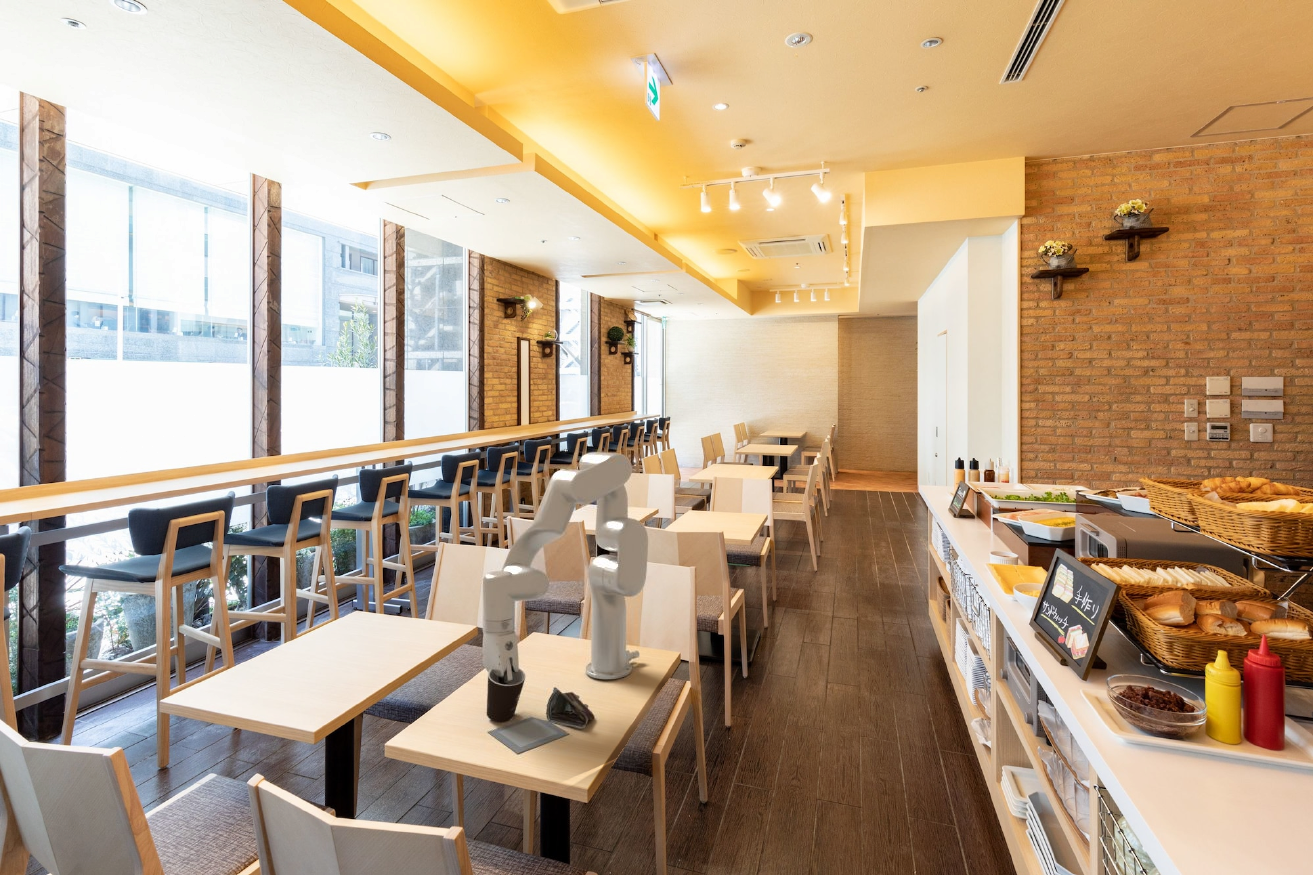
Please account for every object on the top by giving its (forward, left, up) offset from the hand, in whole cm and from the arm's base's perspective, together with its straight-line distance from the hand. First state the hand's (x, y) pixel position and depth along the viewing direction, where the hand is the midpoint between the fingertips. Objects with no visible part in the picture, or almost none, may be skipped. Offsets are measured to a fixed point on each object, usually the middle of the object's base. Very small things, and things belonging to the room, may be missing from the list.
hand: (499, 701), depth 152 cm
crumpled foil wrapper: (-12, +19, -5) cm, 23 cm away
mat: (0, +13, -3) cm, 14 cm away
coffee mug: (-1, +1, -3) cm, 3 cm away
